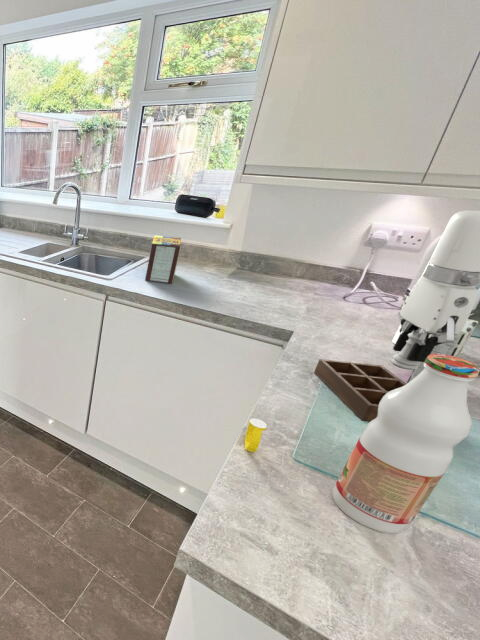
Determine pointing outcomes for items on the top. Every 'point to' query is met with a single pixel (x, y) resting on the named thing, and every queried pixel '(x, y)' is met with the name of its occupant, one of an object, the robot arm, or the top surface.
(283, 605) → the top surface
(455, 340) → the candy bar box
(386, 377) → the grid
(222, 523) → the top surface
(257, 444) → the yellow pill bottle
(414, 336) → the rook chess piece
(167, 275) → the protein box
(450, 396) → the fruit juice
